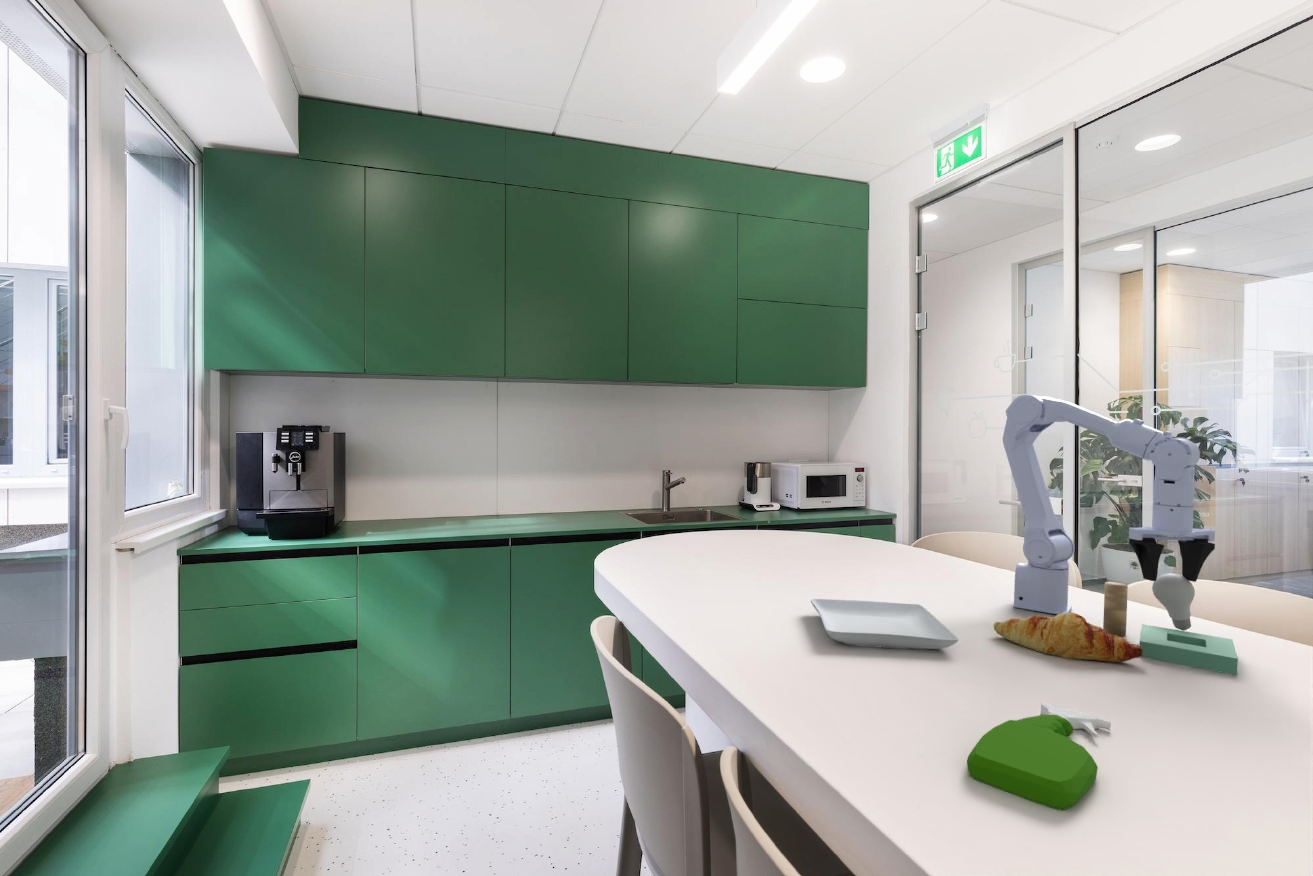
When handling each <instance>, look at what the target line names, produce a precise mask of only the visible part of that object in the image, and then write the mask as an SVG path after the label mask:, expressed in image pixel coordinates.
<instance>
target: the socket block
mask: <svg viewBox="0 0 1313 876" xmlns="http://www.w3.org/2000/svg"><path fill="white" fill-rule="evenodd" d="M1139 635H1140V637H1139V644H1138V645H1139V646H1141V647H1142V649H1143V652H1142V655H1141V657H1142V658H1146V659H1152V660H1157V661H1162V662H1163V661H1164V662H1168V663H1171V664H1172V663H1173V664H1178V665H1183V666H1188V667H1194V668H1200V669H1204V670H1210V671H1215V672H1220V673H1226V674H1230V675H1231V674H1232V675H1238V664H1239V662H1238V660H1239V659H1238V655H1237V651H1236V647H1235V645H1234V640H1233V639H1232V638H1228V637H1227V638H1226V637H1221V636H1215V635H1209V634H1204V633H1197V632H1191V631H1187V630H1180V629H1173V628H1166V627H1161V626H1155V625H1148V624H1142V625H1141V630H1140V634H1139ZM1141 657H1140V658H1141Z"/></svg>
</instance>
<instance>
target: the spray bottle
mask: <svg viewBox="0 0 1313 876" xmlns="http://www.w3.org/2000/svg"><path fill="white" fill-rule="evenodd" d="M1040 714H1041V715H1035V716H1029V717H1024V718H1021V719H1017V720H1016V719H1015V720H1014V719H1009V720H1007V721H1005V722H1002V723H1000V724H997V725H996V726H994V727H992V728H991V729H990V730H989V731H987V732H986V733H985V734H983V735H982V736H981V738H980V739H979V740H978V742H977V743H976V744H975V746H974V747H973V748H972V750H971V751H970V753H969V754H968V756H967V760H966V764H967V765H966V766H967V771H968V772H969V775H970V776H971V777H972V779H974V780H976V781H977V782H980V783H983V784H985V785H988V786H991V787H993V788H995V789H999V790H1001V791H1004V792H1007V793H1009V794H1012V795H1013V796H1017V797H1019V798H1023V799H1025V800H1027V801H1030V802H1033V803H1035V804H1039V805H1042V806H1044V805H1045V807H1048V808H1051V809H1055V810H1059V809H1061V810H1060V811H1064V810H1066V809H1069V807H1070V808H1072V807H1074V805H1076V804H1077V803H1078V801H1080V800H1081V798H1082V797H1083V796H1084V795H1085V794H1086V793H1087V792H1088V791H1089V789H1091V787H1092V786H1093V784H1094V782H1095V781H1096V780H1097V775H1098V774H1097V773H1098V765H1097V763H1096V761H1095V760H1094V758H1093V756H1092V755H1091V754H1090V753H1089V751H1087V750H1086V748H1085V747H1084V746H1082V745H1081V744H1078V743H1077V742H1075V741H1074V740H1072V739H1071V738H1068V737H1069V736H1071V735H1072V734H1073V733H1074V730H1079V729H1080V730H1081V729H1082V730H1086V732H1088V733H1089V734H1091V735H1092V736H1093V737H1094V738H1098V737H1099V734H1098V732H1097V731H1096V730H1098V728H1100V729H1103V730H1108V731H1110V730H1111V728H1112V726H1111V725H1112V721H1111V720H1107V719H1104V718H1099V716H1098V717H1097V716H1095V715H1093V714H1089V713H1085V712H1081V711H1076V710H1073V709H1070V708H1069V709H1068V708H1064V707H1062V706H1061V707H1060V706H1056V705H1053V704H1047V703H1040Z"/></svg>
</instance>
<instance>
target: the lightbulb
mask: <svg viewBox="0 0 1313 876" xmlns="http://www.w3.org/2000/svg"><path fill="white" fill-rule="evenodd" d="M1152 582H1153V583H1152V586H1151V590H1152V594H1153V595H1154V597H1155V599H1157V601H1158V602H1159V603H1160V604H1162V605H1163V607H1164V608H1165V609H1166V611H1167V613H1168V616H1169V618H1171V621H1172V624H1173V626H1174V628H1175V629H1176V630H1180V631H1187V630H1188V629H1190V628H1191V627H1192V621H1191V605H1192V603H1193V601H1194V597H1195V594H1196V590H1195V587H1194V585H1193V584H1192V581H1189V580H1187V579H1186V578H1185V577H1183V575H1182V574H1178V573H1174V572H1168V573H1163V574H1161V575H1159V576H1157V579H1156V581H1152Z"/></svg>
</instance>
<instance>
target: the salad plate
mask: <svg viewBox="0 0 1313 876" xmlns="http://www.w3.org/2000/svg"><path fill="white" fill-rule="evenodd" d="M810 603H811V604H812V606H813V608H814V609H815V611H816V612H817V613H818V615H819V616H820V619H821V622H822V625H823V627H824V628H823V629H824V630H825V632H826V633H827V635H828V637H830V638H831V639H833V640H834V641H836V642H840V643H842V642H843V643H842V644H845V645H850V646H856V645H861V646H860V647H871V646H881V647H880V648H888V647H893V648H892V649H907V648H912V649H911V650H940V649H946V648H949V647H952V646H953V645H955V644H956V643H958V641H959V638H958V637H957V635H956V634H955V633H953V632H952V631H951V630H950V629H949V628H948V627H947V626H946V625H945V624H943V622H941V621H940V620H939V619H938V618H937V617H936V616H934V615H933V614H932V613H931V612H930V611H929V610H928V609H927V608H925V607H924V606H923V605H921V604H916V603H902V602H887V601H874V600H873V601H871V600H869V601H868V600H851V599H850V600H849V599H831V598H829V599H827V598H826V599H825V598H812V599H810ZM862 645H863V646H862ZM913 648H914V649H913Z"/></svg>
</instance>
